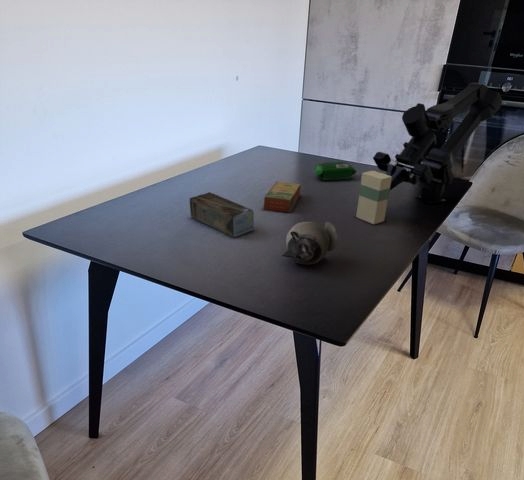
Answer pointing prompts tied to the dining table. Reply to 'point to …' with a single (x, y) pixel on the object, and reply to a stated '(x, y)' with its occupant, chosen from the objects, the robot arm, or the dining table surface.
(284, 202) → the carton
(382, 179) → the tea box
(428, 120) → the robot arm
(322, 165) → the snack package
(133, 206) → the dining table surface
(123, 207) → the dining table surface
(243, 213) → the beverage carton
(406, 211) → the dining table surface
